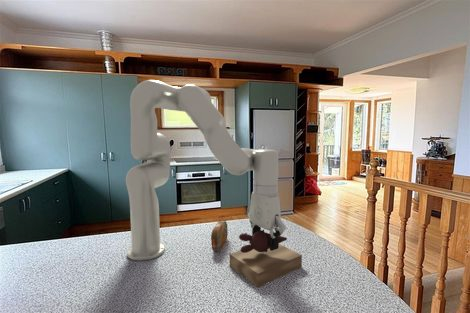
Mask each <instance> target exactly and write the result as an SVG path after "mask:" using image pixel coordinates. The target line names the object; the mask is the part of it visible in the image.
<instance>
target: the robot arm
mask: <svg viewBox="0 0 470 313" xmlns="http://www.w3.org/2000/svg"><path fill="white" fill-rule="evenodd" d="M129 98H130V99H129V108H130V153H131V156H132V157H133V158H134V160H137V161H146V163H141V164H138V165H135V166H132V168H130V169H129V170H128V171H127V173H126V176H125V185H126V188H127V193H128V198H129V200H128V201H129V212H130V217H129V218H130V238H131V247H130V248H129V249H128V250H127V252H126V254H127V257H128V259H131V260H133V261H147V260H148V261H149V260H152V259H155V258H157V257H159V256H161V255H162V254H163V253H165V248H166V247H165V245H164V243H162V242H161V232H160V229H161V228H160V207H159V206H160V204H159V203H160V202H159V197H158V194H157V193H156V188H159V187H163V185H165V184H166V183H167V182H168V181H169V178H170V174H171V143H170V141H169V139H168V138H167V137H166V136H165V135H164V134H162V133H160V132H158V117H157V113H156V111H155V109H156V108H157V109H162V110H167V111H176V112H184V113H185V114H186V115H187V116H188V117H189V118H190V120H191V121H192V123H194V124H195V126H196V127H197V128H198V129H199V131H200V132H201V134H202V135H203V138H204V140H205V143H206V144H207V146H208V148H209V150H210V152H211V153H212V155H213V156H214V157H215V158H216V160H217V161H218V162H219V164H221V166H222V168H224V169H225V170H226V171H227V172H228V173H229V174H231V175H234V176H242V175H244V174H245V173H247V172H249V171H253V182H252V184H253V191H252V192H251V195H250V202H249V212H247V216H248V219H249V223H250V227H251V229H252V231H251V236H252V235H253V234H254V233H255V232H257V231H260V230H262V229H263V230H267V231H269V234H271V237H270V250H271V251H273V250H275V249H278V248H279V244H280V243H279V236H282V234H283V233H284V231H286V229H287V227H286V225H285V223H284V222H283V221H282V220H281V219H282V218H281V216H282V214H281V203H280V202H281V201H280V196H279V152H278V151H277V150H275V149H271V148H269V149H266V148H265V149H263V148H262V149H253V148H246V147H245V148H243V147H240V146H239V145H238V143H237V142H236V141H235V139H234V138H233V137H232V135H231V134H230V132H229V131H228V128H227V125H226V119H225V117H224V115H223V114H222V113H221V112H220V111H219V109H217V107H216V106H215V105H214V103H213V102H212V97H211V94H210V93H209V92H208V91H207V90H206V89H204V88H203V87H200V86H198V85H196V84H186V85H183V86H181V87H180V86H179V87H178V86H173V85H170V84H168V83H165V82H163V81H160V80H155V79H147V80H144V81H143V80H142V81H141V82H139V83H138V84H137V85H136V86H135V87H134V88H133V89H132V92H131V95H130V97H129Z"/></svg>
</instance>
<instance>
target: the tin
mask: <svg viewBox="0 0 470 313" xmlns="http://www.w3.org/2000/svg"><path fill="white" fill-rule="evenodd" d="M228 234H229V233H228V222H227V221H226V220H223V221H222V220H219V221H218V222H217V223H216V225H214V227H213V229H212V231H211V234H210V235H211V236H210V241H211V250H212V251H213V252H222V251H221V250H223V249H224V246H225V245H226V243H227V241H228Z"/></svg>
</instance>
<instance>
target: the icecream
mask: <svg viewBox="0 0 470 313" xmlns="http://www.w3.org/2000/svg"><path fill="white" fill-rule="evenodd" d="M270 237H271V234H270V232H266V231H265V229H261V230H260V231H257V232H255V233H254V234H253V235H252V234H248V233H247V232H245V233H241V234H240V235H238V238H239V240H240V241H242V242H243V241H244V242H248V243H249V244H244V245H242V246H241V247H240V250H241V252H243V253H247V252H249V251H251V250H253V249H254V250H256V251H258V252H267V251H268V249H269V248H270ZM287 240H288V238H287V237H285V236H282V235H281V236H279V244H281V243H282V242H285V241H287Z"/></svg>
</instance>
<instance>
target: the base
mask: <svg viewBox="0 0 470 313" xmlns="http://www.w3.org/2000/svg"><path fill="white" fill-rule="evenodd" d="M302 262H303V255H302V254H301V253H298V252H297V251H294V250H293V249H291V248H288V247H287V246H284V245H282V244H281V243H279V248H278V249H275V250H273V251H271V250H270V248H269V249H268V251H267V252H258V251H256V250H254V249H253V250H251V251H249V252H247V253H243V252H241V249H240V250H236V251H234V252H231V253H229V266H230V267H231V268H232V269H233V270H235V271H236V272H237V273H238V274H240V276H242V275H243V276H242V277H243V278H245V279H246V278H247V279H246V280H247V281H249V282H250V281H251V282H250V283H252V284H253V285H254V286H255V285H256V286H255V287H256V288H261V287H262V286H264V285H266V283H267V284H268V282H269V283H271V282H273V281H275V280H278V279H279V278H281V277H283V276H286V275H288V274H290V273H292V272H295V271H297V270H299V269H301V268H302V267H303V266H302Z"/></svg>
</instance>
